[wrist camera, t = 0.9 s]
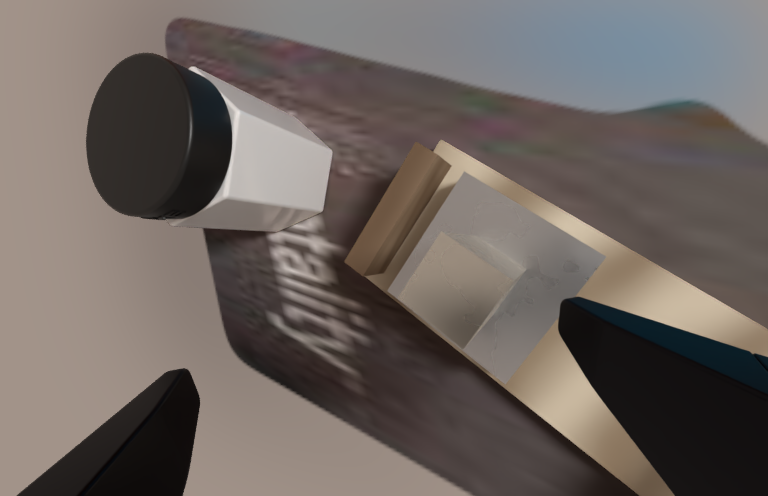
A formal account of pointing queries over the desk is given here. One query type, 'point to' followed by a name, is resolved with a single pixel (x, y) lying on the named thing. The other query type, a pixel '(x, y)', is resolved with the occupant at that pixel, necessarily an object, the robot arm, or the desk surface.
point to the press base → (551, 356)
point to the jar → (200, 151)
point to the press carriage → (492, 275)
